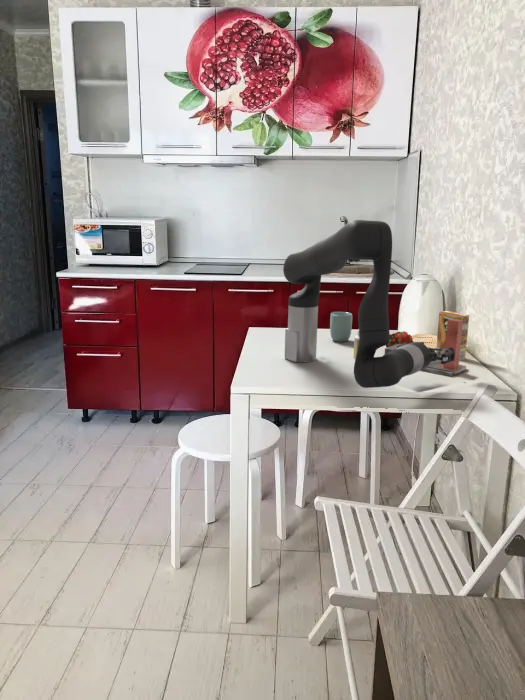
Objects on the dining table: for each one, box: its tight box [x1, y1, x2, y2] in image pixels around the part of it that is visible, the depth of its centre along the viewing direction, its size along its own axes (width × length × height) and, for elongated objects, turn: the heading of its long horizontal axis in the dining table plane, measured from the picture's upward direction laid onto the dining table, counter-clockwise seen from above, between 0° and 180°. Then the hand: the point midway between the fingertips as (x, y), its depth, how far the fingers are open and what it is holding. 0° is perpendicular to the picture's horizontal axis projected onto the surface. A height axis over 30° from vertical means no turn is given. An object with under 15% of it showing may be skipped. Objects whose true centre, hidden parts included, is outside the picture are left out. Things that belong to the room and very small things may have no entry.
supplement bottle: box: [353, 329, 359, 360], centre depth 182 cm, size 6×6×10 cm
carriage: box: [426, 318, 467, 375], centre depth 169 cm, size 10×8×15 cm
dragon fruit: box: [385, 331, 414, 348], centre depth 193 cm, size 8×8×12 cm
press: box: [384, 344, 469, 378], centre depth 174 cm, size 23×11×6 cm, turn 49°
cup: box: [329, 311, 353, 343], centre depth 210 cm, size 8×8×10 cm
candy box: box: [435, 310, 470, 361], centre depth 185 cm, size 9×4×15 cm, turn 33°
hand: (437, 348), depth 160 cm, fingers open, 8 cm apart
